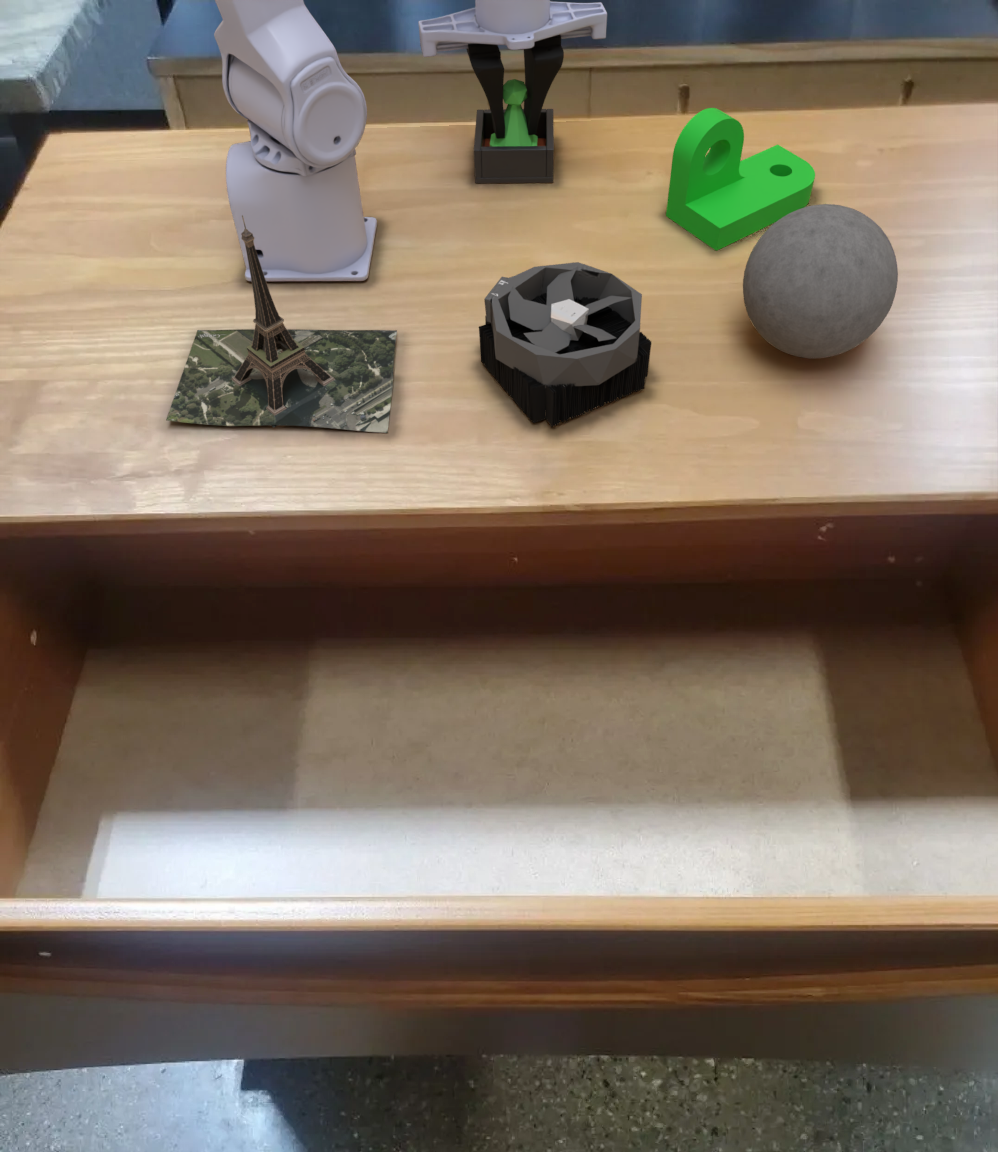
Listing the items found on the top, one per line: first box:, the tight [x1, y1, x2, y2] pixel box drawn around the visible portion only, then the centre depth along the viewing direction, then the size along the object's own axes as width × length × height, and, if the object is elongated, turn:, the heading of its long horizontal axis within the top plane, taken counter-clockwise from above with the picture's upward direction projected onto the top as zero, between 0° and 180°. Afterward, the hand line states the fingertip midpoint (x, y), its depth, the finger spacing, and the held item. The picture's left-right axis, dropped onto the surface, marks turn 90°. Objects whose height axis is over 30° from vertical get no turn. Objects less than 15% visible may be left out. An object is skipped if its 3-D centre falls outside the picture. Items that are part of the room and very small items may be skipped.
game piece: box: [490, 78, 538, 147], centre depth 85 cm, size 4×4×6 cm
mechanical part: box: [665, 107, 816, 252], centre depth 80 cm, size 12×6×8 cm, turn 125°
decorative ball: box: [742, 203, 899, 359], centre depth 69 cm, size 10×10×10 cm
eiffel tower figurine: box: [165, 215, 398, 434], centre depth 66 cm, size 15×10×13 cm
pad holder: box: [473, 108, 555, 184], centre depth 87 cm, size 7×7×3 cm
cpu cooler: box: [478, 261, 652, 428], centre depth 69 cm, size 10×6×10 cm
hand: (514, 130), depth 86 cm, fingers closed on game piece, 2 cm apart
